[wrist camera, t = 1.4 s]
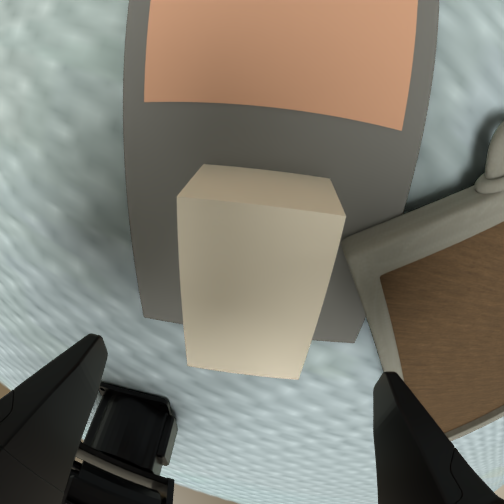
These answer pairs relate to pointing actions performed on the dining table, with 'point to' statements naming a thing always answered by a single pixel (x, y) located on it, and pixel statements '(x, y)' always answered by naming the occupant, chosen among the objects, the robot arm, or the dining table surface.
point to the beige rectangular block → (254, 267)
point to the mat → (272, 117)
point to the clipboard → (441, 298)
